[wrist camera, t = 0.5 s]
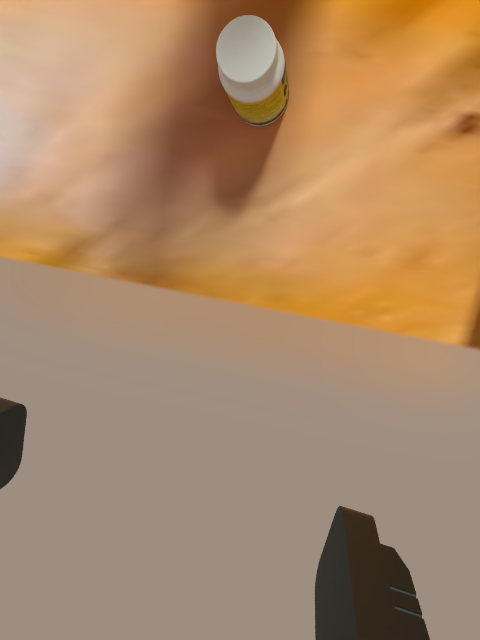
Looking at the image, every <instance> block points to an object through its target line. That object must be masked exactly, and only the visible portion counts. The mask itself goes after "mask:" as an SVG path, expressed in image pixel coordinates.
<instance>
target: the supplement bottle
mask: <svg viewBox="0 0 480 640" xmlns="http://www.w3.org/2000/svg"><path fill="white" fill-rule="evenodd" d="M216 59H217V63H218V72H219V78H220V81H221V83H222V85H223V87H224V89H225V91H226V93H227V95H228V97H229V98H230V100H231V102H232V104H233V106H234V108H235V110H236V112H237V113H238V115H239V116H240V117H241V119H242V120H244V121H245V122H246V123H248V124H250V125H253V126H265V125H269V124H271V123H273V122H274V121H276V120H277V119H278V118H279V117H280V116H281V115H282V114H283V112H284V111H285V109H286V106H287V103H288V99H289V87H288V79H287V72H286V65H285V57H284V53H283V50H282V48H281V46H280V44H279V42H278V41H277V39H276V38H275V35H274V32H273V30H272V28H271V27H270V25H269V24H268V23H267V22H266V21H265V20H263V19H262V18H260V17H257V16H254V15H243V16H240V17H237V18H235V19H233V20H232V21H230V22H229V23H228V24H227V25H226V26H225V27H224V29H223V30H222V32H221V33H220V35H219V38H218V41H217V45H216Z"/></svg>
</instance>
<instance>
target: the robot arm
mask: <svg viewBox="0 0 480 640" xmlns="http://www.w3.org/2000/svg"><path fill="white" fill-rule="evenodd" d="M26 414H27V412H26V408H25V406H24V405H22V404H19V403H16V402H13V401H10V400H7V399H3V398H0V489H1V488H3V487H4V486H5V485H6V484H7V483H8V482H9V481H10V480H11V479H12V478H13V477H14V475H15V474H16V472H17V470H18V468H19V465H20V463H21V458H22V451H23V442H24V433H25V425H26V416H27V415H26ZM315 633H316V635H315V636H316V640H430V638H429V635H428V632H427V628H426V625H425V622H424V619H422V612H421V608H420V605H419V602H418V599H417V598H416V591H415V589H414V585H413V582H412V578H411V575H410V571H409V570H408V568H407V567H406V565H405V564H404V563H403V561H402V559H401V558H400V556H399V555H398V554H397V552H396V551H395V549H394V548H392V547H389V546H386V545H383V544H380V542H379V537H378V533H377V528H376V524H375V521H374V518H373V516H371V515H367V514H364V513H361V512H358V511H355V510H352V509H348V508H345V507H342V506H339V507H338V509H337V511H336V513H335V516H334V519H333V522H332V525H331V528H330V531H329V534H328V537H327V540H326V543H325V546H324V549H323V552H322V555H321V558H320V561H319V565H318V569H317V575H316V582H315Z"/></svg>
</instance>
